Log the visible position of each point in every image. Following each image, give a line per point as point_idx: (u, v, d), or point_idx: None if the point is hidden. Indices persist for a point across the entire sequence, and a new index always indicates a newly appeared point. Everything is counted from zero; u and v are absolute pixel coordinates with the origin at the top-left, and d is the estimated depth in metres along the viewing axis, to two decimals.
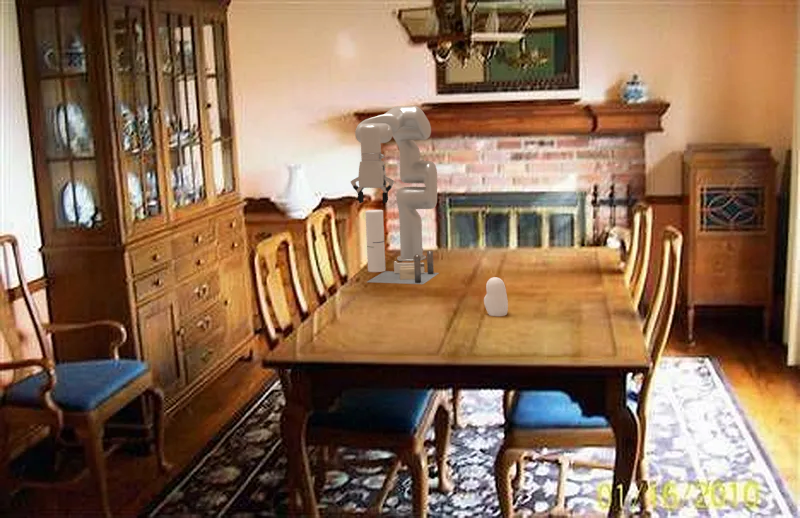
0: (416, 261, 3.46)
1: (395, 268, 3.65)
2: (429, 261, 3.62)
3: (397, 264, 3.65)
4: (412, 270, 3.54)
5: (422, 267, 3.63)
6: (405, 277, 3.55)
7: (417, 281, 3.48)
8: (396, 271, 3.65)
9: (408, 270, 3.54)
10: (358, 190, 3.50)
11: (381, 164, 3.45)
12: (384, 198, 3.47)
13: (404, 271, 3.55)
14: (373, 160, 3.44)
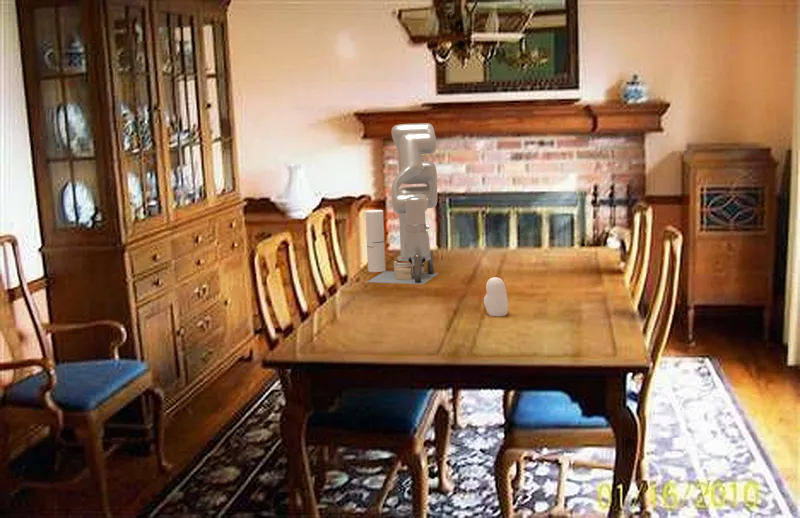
0: (416, 261, 3.46)
1: (395, 268, 3.65)
2: (429, 261, 3.62)
3: (397, 264, 3.65)
4: (408, 270, 3.54)
5: (422, 267, 3.63)
6: (401, 277, 3.55)
7: (417, 281, 3.48)
8: None
9: (404, 270, 3.54)
10: (413, 263, 3.55)
11: (427, 235, 3.53)
12: None
13: (400, 271, 3.54)
14: (420, 231, 3.51)
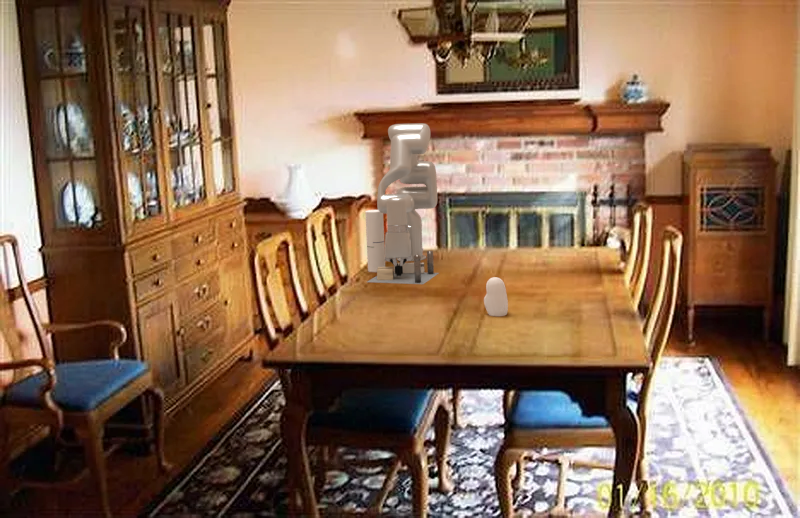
0: (416, 261, 3.46)
1: None
2: (429, 261, 3.62)
3: None
4: (389, 271, 3.55)
5: (422, 267, 3.63)
6: (382, 278, 3.55)
7: (417, 281, 3.48)
8: None
9: (385, 271, 3.55)
10: (395, 263, 3.56)
11: (408, 235, 3.54)
12: (400, 271, 3.56)
13: (381, 272, 3.55)
14: (402, 232, 3.51)
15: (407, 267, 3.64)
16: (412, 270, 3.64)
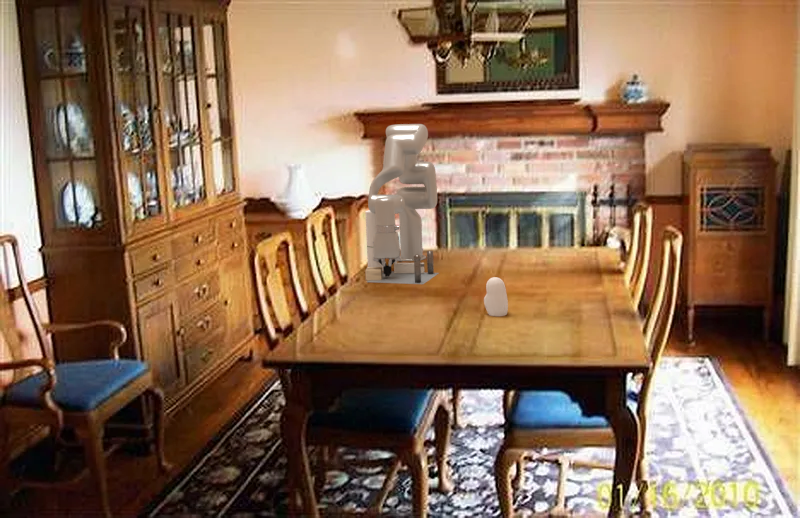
0: (416, 261, 3.46)
1: (395, 268, 3.65)
2: (429, 261, 3.62)
3: (397, 264, 3.65)
4: (378, 271, 3.55)
5: (422, 267, 3.63)
6: (371, 278, 3.55)
7: (417, 281, 3.48)
8: (396, 271, 3.65)
9: (374, 271, 3.55)
10: (383, 264, 3.56)
11: (397, 235, 3.54)
12: (389, 271, 3.57)
13: (370, 272, 3.55)
14: (390, 232, 3.52)
15: (407, 267, 3.64)
16: (412, 270, 3.64)
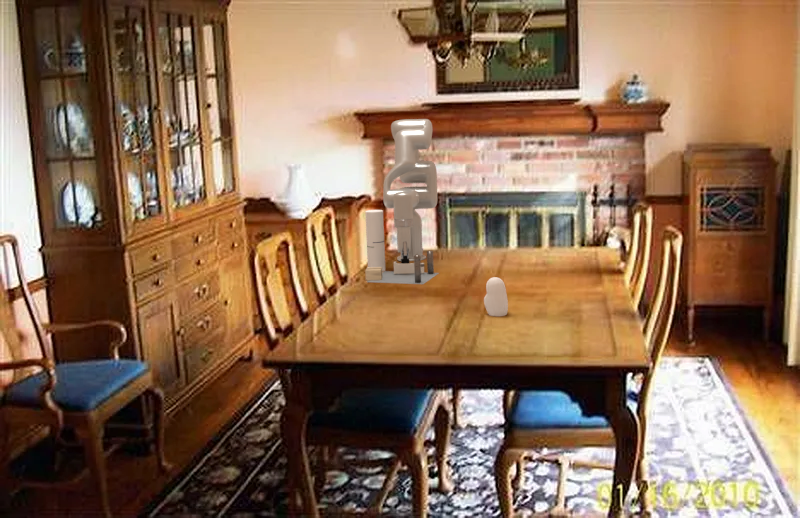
0: (416, 261, 3.46)
1: (395, 269, 3.64)
2: (429, 261, 3.62)
3: (397, 265, 3.64)
4: (378, 271, 3.55)
5: (422, 267, 3.63)
6: (371, 278, 3.55)
7: (417, 281, 3.48)
8: (396, 272, 3.64)
9: (374, 271, 3.55)
10: None
11: None
12: None
13: (370, 272, 3.55)
14: None
15: (407, 268, 3.64)
16: (412, 270, 3.64)
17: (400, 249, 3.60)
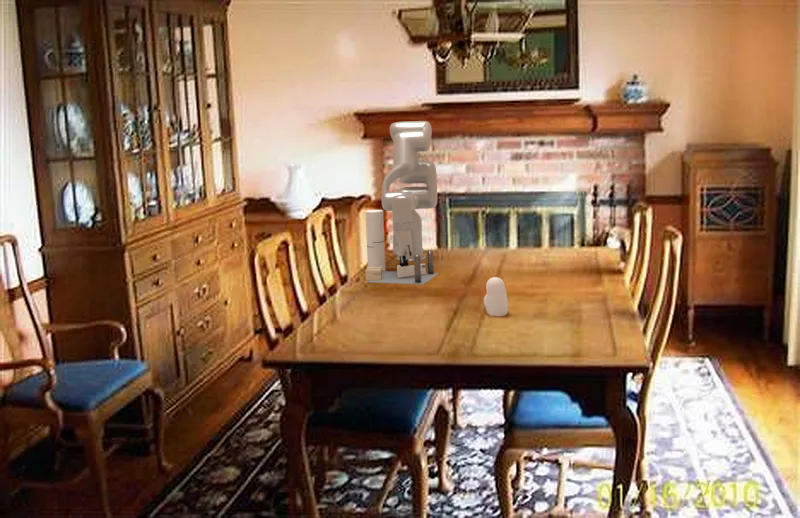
0: (416, 261, 3.46)
1: (400, 272, 3.56)
2: (429, 261, 3.62)
3: (401, 268, 3.57)
4: (378, 271, 3.55)
5: (424, 268, 3.61)
6: (371, 278, 3.55)
7: (417, 281, 3.48)
8: (401, 275, 3.57)
9: (374, 271, 3.55)
10: (407, 260, 3.60)
11: None
12: None
13: (370, 272, 3.55)
14: None
15: (410, 270, 3.59)
16: None
17: (403, 253, 3.54)
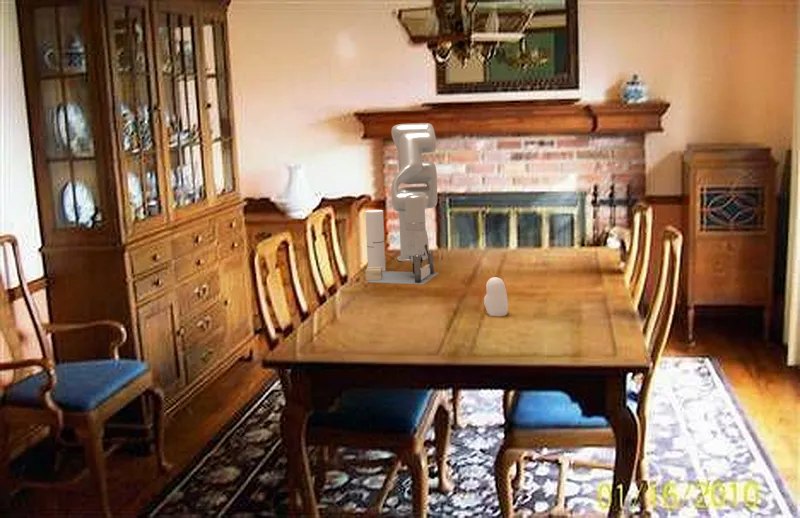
0: (416, 261, 3.46)
1: (421, 275, 3.50)
2: (429, 261, 3.62)
3: (421, 270, 3.51)
4: (378, 271, 3.55)
5: (429, 268, 3.60)
6: (371, 278, 3.55)
7: (417, 281, 3.48)
8: (421, 278, 3.51)
9: (374, 271, 3.55)
10: None
11: None
12: None
13: (370, 272, 3.55)
14: None
15: (424, 272, 3.55)
16: (426, 273, 3.57)
17: (422, 253, 3.50)
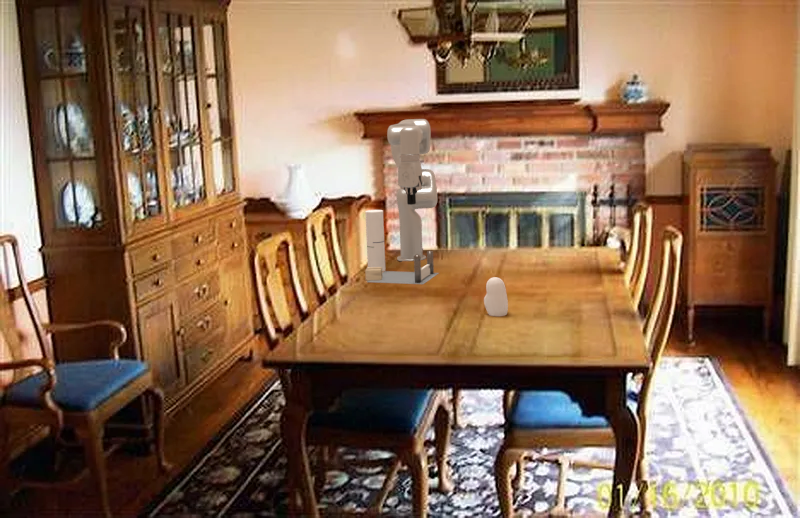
0: (416, 261, 3.46)
1: (421, 275, 3.50)
2: (429, 261, 3.62)
3: (421, 270, 3.51)
4: (378, 271, 3.55)
5: (429, 268, 3.60)
6: (371, 278, 3.55)
7: (417, 281, 3.48)
8: (421, 278, 3.51)
9: (374, 271, 3.55)
10: None
11: None
12: None
13: (370, 272, 3.55)
14: None
15: (424, 272, 3.55)
16: (426, 273, 3.57)
17: (416, 183, 3.64)
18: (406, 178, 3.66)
